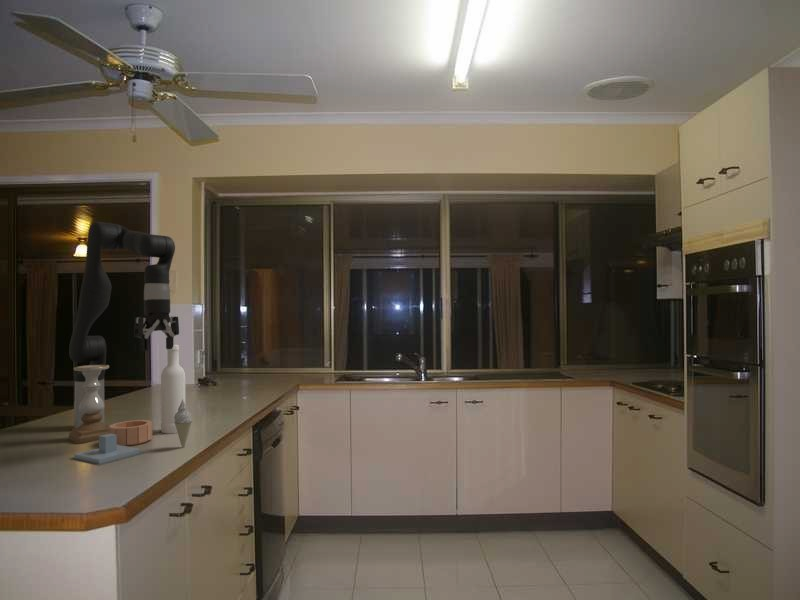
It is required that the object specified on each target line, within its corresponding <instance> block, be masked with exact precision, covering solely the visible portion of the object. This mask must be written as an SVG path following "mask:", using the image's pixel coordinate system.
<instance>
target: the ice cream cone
mask: <svg viewBox="0 0 800 600" xmlns="http://www.w3.org/2000/svg"><path fill="white" fill-rule="evenodd" d="M174 419H175V420H174V423H175V426H176V429H177V432H178V433H177V435H178V439H179V442H180V445H181V448H186V447H185V446H186V443H187V440H188V436H189V432H190V428H191V425H192V422H193V420H192V414H191V411H189V410H188V406H187V405H185V403H184V401H183V399H182V402H181V404H180V406H179V408H178V412H177V413H176V414H175V416H174Z"/></svg>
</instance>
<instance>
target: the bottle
mask: <svg viewBox="0 0 800 600" xmlns="http://www.w3.org/2000/svg"><path fill="white" fill-rule="evenodd" d="M166 351H167V365H166V366H165V367H164V368H163V370H162V372H161V375H160V386H161V387H160V391H161V392H160V395H161V397H160V399H161V401H160V404H161V405H160V406H161V408H160V410H161V411H160V412H161V413H160V414H161V416H160V417H161V419H160V421H161V423H160V427H161V433H162V434H168V435H169V434H170V435H171V434H172V435H173V434H178V432H177V429H176V426H175V423H174V420H175V419H174V416H175V414H176V413H177V412H178V408H179V406H180V404H181V402H182V399H183V401H184V403H185V405H186V372H185V370H184V368H183V367H182V366H181V365H180V364H179V363H180V360H179V359H180V358H179V357H180V352H179V351H180V345H179V344H174V346H173V348H172V349H166ZM186 406H187V405H186Z"/></svg>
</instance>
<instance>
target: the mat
mask: <svg viewBox="0 0 800 600" xmlns="http://www.w3.org/2000/svg"><path fill="white" fill-rule="evenodd" d="M145 454H146V452H145V451H140V453H139V454H135V455H131V456H127V457H124V458H120V459H116V460H112V461H109V462H105V463H101V464H97V463H93V462H88V461H84V460H79V459H75V458H74V456H72V457H69V458H67V459H68V460H71V461H76V462H80V463H84V464H89V465H94V466H98V467H100V466H103V465H108V464H111V463H114V462H119V461H122V460H125V459H129V458H133V457H137V456H140V455H145Z"/></svg>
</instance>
